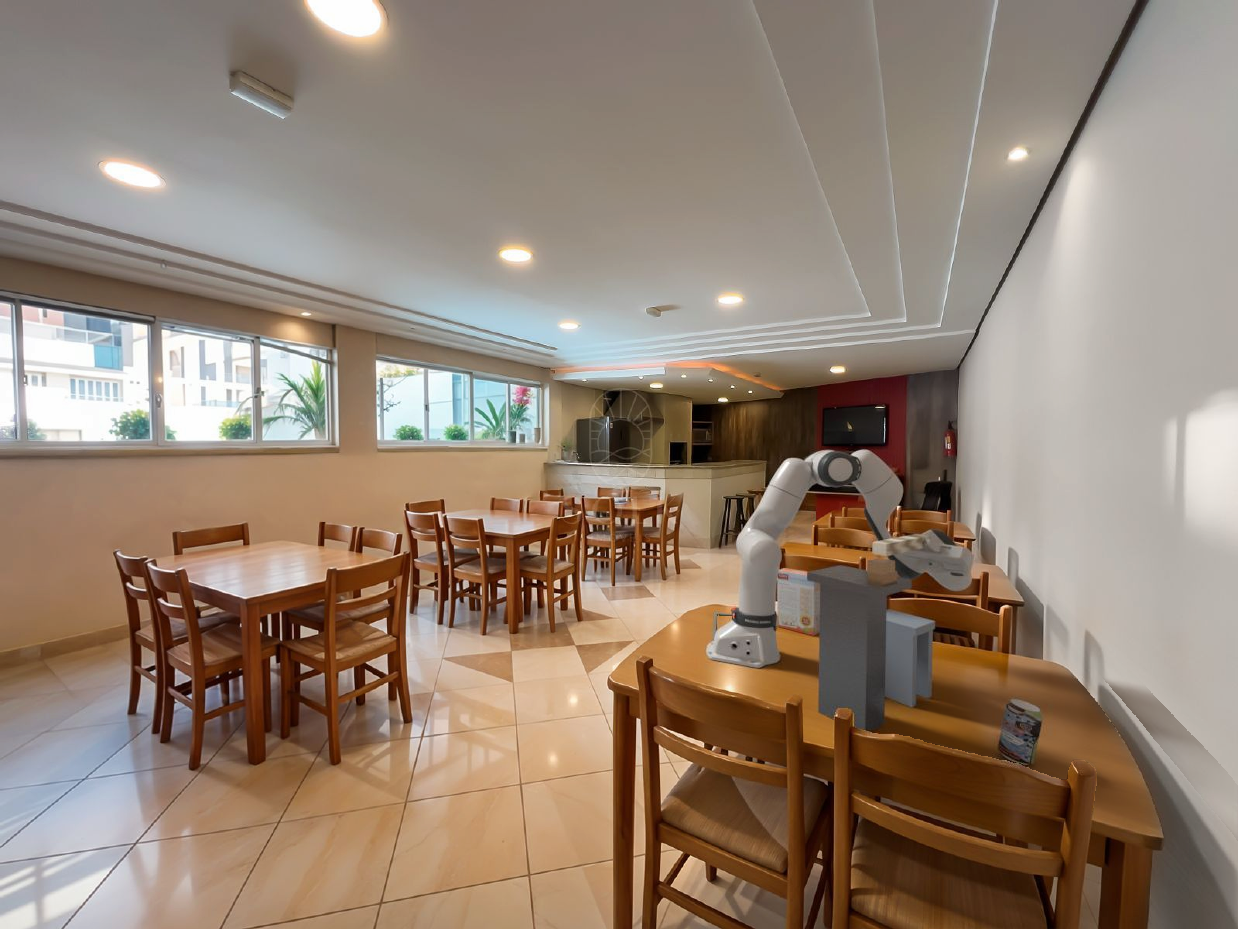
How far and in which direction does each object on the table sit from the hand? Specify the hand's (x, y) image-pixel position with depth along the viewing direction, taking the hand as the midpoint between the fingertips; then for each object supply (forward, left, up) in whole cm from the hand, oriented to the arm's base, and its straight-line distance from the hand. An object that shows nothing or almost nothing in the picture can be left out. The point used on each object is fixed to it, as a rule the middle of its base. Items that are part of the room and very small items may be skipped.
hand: (916, 540), depth 138 cm
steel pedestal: (-18, -20, -40) cm, 48 cm away
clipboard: (-46, +36, -41) cm, 71 cm away
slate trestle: (-5, -5, -40) cm, 41 cm away
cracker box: (-26, +39, -40) cm, 62 cm away
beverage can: (+11, -31, -40) cm, 52 cm away
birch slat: (-5, -5, -2) cm, 7 cm away
